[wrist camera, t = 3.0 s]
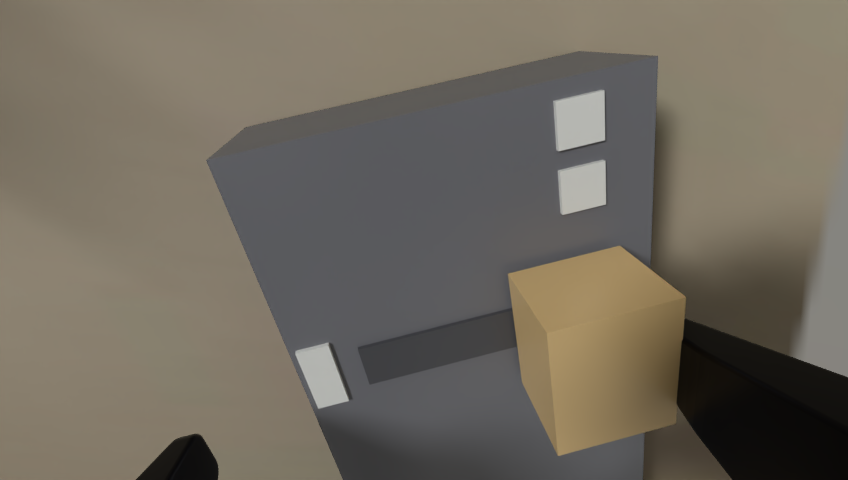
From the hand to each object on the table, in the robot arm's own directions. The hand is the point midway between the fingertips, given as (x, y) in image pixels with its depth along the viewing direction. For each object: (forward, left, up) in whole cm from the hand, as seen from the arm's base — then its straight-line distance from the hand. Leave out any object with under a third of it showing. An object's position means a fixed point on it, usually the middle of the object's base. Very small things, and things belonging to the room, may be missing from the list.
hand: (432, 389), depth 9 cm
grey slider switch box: (-6, +2, -4) cm, 7 cm away
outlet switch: (-1, -3, -1) cm, 3 cm away
